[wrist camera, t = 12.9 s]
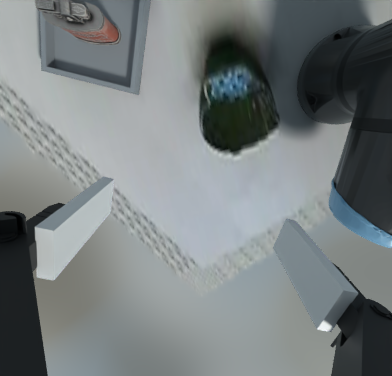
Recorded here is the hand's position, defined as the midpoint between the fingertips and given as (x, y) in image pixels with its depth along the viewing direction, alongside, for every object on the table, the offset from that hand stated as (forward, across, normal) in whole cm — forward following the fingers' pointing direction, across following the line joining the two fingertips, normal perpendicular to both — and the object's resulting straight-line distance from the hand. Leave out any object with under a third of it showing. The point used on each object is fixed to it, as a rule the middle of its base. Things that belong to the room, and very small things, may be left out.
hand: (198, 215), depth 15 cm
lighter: (+28, +21, -14) cm, 38 cm away
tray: (+29, +21, -14) cm, 38 cm away
